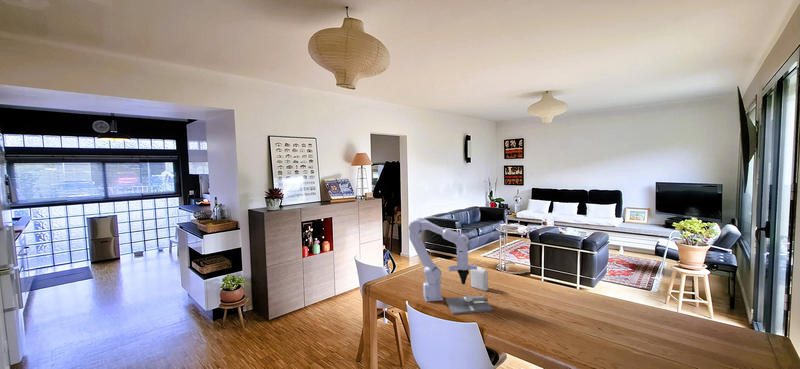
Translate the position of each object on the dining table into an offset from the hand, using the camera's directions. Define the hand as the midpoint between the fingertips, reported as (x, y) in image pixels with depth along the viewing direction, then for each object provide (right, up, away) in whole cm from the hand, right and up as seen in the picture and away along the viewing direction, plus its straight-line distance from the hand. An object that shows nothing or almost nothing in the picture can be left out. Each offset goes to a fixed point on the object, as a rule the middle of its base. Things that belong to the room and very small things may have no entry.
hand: (463, 283), depth 164 cm
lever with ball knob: (+6, -8, -3) cm, 10 cm away
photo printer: (+13, -8, +18) cm, 24 cm away
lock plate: (+2, -10, -3) cm, 11 cm away
